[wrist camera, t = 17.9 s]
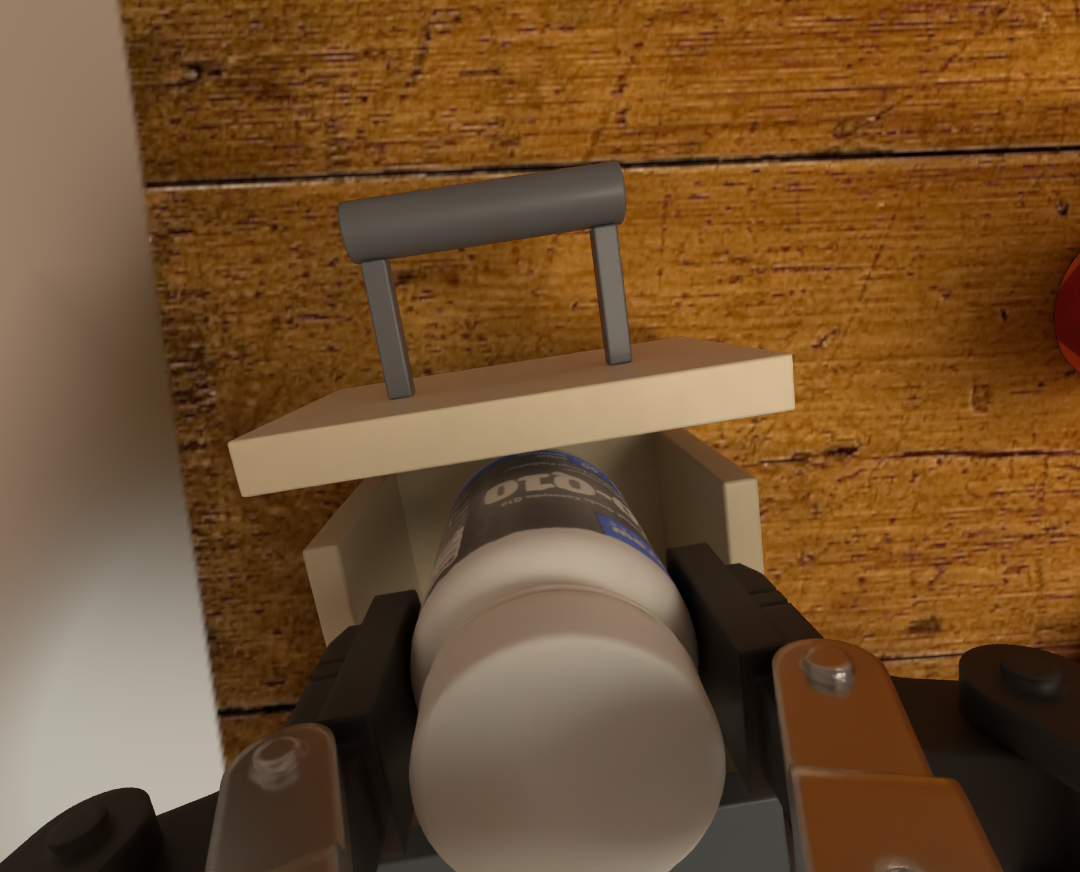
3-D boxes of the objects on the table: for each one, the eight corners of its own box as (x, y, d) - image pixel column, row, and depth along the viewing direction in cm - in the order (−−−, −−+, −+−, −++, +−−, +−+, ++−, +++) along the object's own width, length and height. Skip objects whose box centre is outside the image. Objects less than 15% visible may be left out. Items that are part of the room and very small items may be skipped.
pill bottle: (651, 470, 15) (819, 659, 7) (597, 631, 16) (691, 964, 8) (472, 422, 15) (428, 564, 7) (426, 591, 16) (338, 904, 7)
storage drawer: (303, 242, 18) (157, 194, 11) (667, 187, 19) (779, 102, 11) (416, 740, 22) (368, 966, 15) (716, 690, 23) (823, 887, 15)
